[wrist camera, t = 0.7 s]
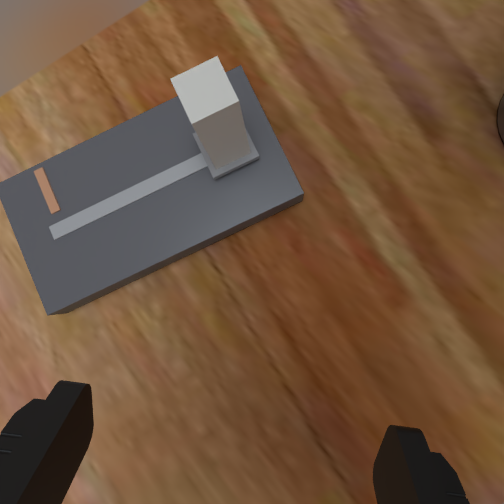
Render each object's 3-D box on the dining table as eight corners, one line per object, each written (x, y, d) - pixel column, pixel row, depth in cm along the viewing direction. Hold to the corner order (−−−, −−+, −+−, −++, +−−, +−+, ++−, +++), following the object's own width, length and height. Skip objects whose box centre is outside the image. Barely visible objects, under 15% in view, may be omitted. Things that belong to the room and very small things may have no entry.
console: (243, 83, 37) (240, 63, 34) (302, 201, 36) (304, 192, 32) (17, 193, 37) (-7, 184, 34) (66, 313, 36) (46, 315, 33)
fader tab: (238, 114, 33) (221, 44, 23) (259, 158, 33) (250, 104, 23) (194, 136, 33) (158, 75, 24) (214, 179, 33) (187, 135, 23)
